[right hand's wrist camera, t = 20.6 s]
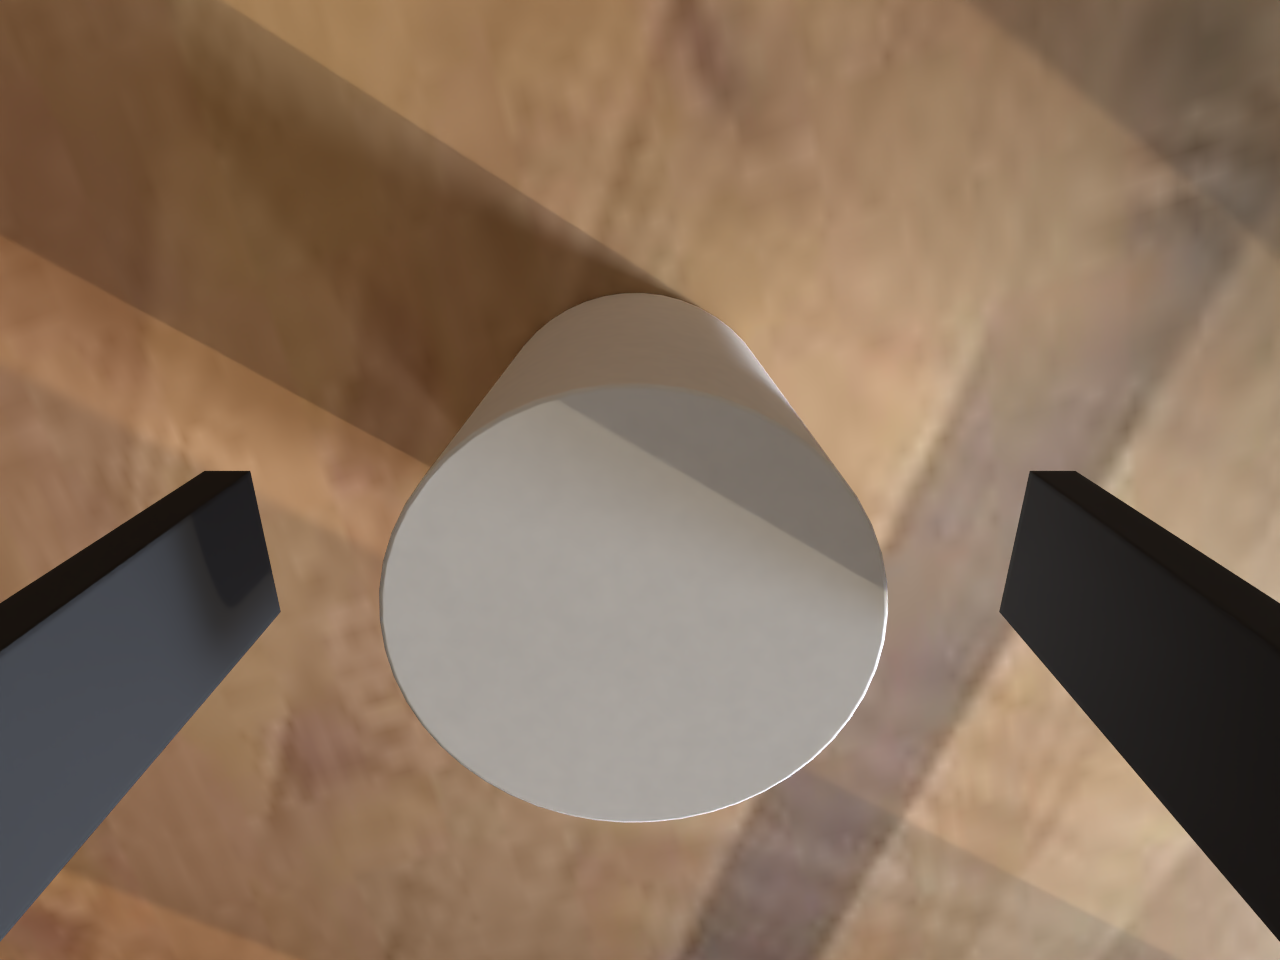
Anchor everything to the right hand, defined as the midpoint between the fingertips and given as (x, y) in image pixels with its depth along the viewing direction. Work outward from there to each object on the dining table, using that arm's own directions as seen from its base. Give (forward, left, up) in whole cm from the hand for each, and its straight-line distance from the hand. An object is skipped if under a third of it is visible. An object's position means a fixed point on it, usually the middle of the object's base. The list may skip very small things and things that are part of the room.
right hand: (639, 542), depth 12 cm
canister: (0, 0, -7) cm, 7 cm away
